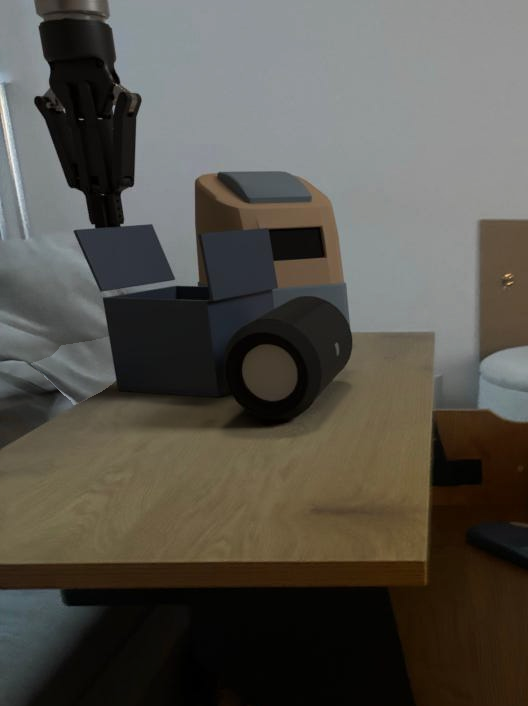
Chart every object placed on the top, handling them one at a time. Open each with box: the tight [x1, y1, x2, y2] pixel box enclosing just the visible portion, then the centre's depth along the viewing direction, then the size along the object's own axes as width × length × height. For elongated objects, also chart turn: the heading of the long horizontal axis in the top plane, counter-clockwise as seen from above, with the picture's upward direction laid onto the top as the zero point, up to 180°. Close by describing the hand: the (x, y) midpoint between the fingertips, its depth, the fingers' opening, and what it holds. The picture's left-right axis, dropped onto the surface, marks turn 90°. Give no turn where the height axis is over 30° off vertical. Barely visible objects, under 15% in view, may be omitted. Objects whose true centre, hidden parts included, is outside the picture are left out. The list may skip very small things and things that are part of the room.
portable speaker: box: [223, 296, 353, 422], centre depth 107 cm, size 26×10×10 cm, turn 178°
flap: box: [73, 223, 176, 293], centre depth 116 cm, size 7×14×1 cm
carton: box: [102, 228, 278, 398], centre depth 116 cm, size 15×14×17 cm
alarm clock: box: [194, 170, 351, 327], centre depth 132 cm, size 17×17×23 cm
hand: (112, 254), depth 116 cm, fingers closed
